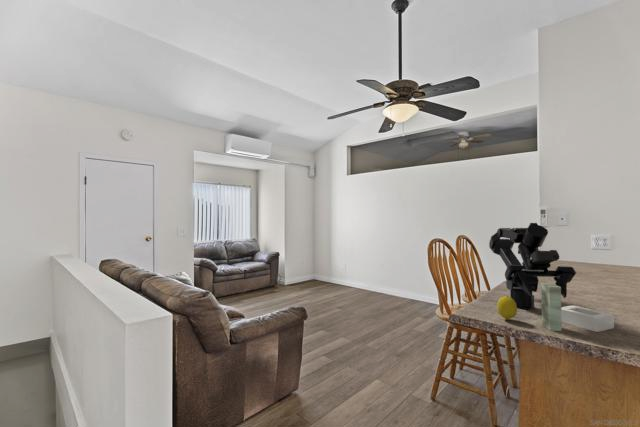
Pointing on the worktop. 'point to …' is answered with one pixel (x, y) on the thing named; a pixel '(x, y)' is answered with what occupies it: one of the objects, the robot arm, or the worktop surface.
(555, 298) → the slat
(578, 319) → the white rectangular frame
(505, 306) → the lemon
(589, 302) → the worktop surface
